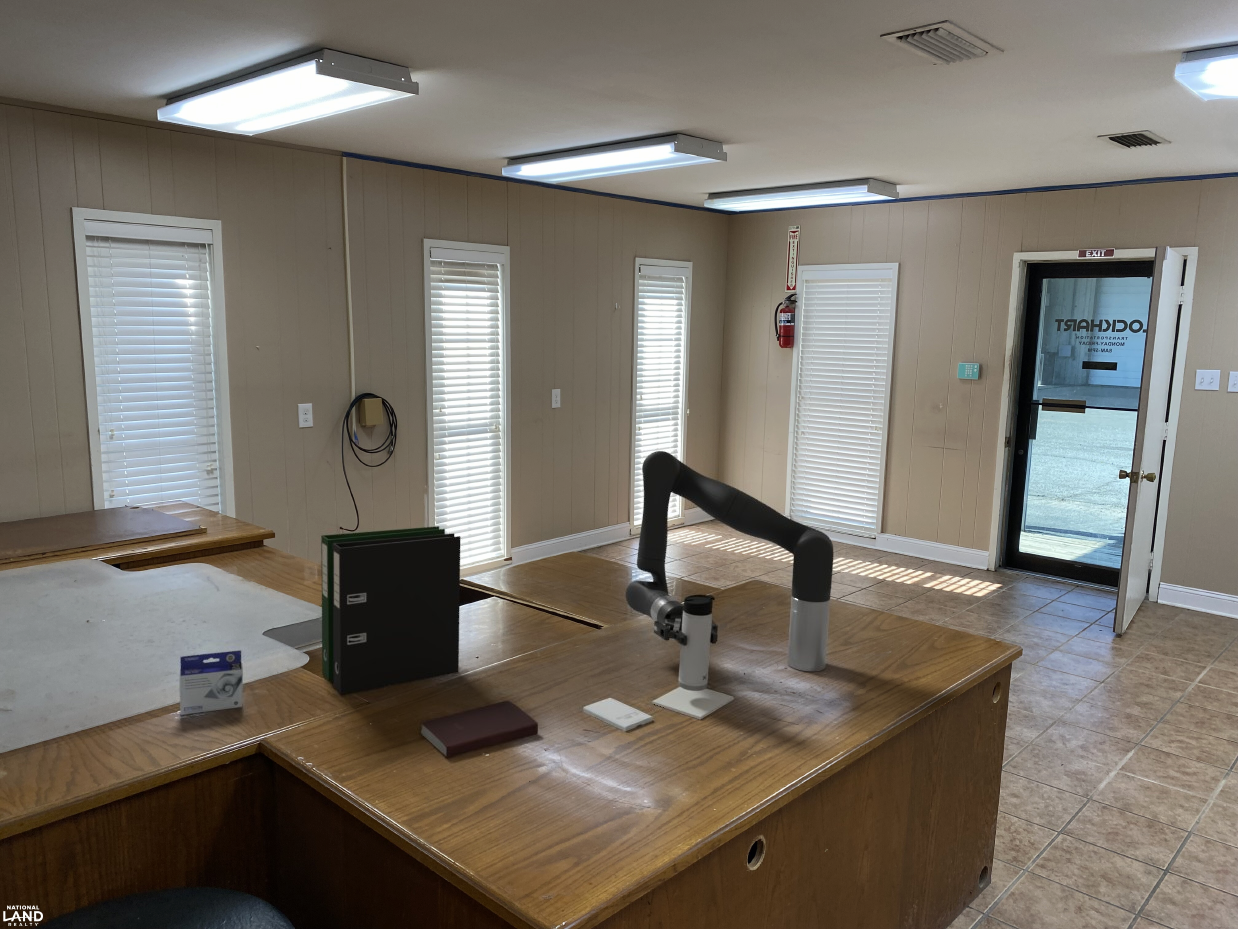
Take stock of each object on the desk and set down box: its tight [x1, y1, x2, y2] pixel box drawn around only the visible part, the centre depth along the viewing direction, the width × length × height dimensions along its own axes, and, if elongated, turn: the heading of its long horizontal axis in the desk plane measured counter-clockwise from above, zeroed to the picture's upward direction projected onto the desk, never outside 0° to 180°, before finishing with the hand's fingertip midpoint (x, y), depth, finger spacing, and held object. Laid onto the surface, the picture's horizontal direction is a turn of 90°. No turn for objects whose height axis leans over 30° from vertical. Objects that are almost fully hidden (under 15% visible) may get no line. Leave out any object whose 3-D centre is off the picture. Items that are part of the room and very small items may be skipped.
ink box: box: [179, 649, 244, 716], centre depth 171 cm, size 12×2×12 cm, turn 117°
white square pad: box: [651, 686, 734, 720], centre depth 185 cm, size 14×12×1 cm
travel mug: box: [678, 594, 716, 691], centre depth 183 cm, size 6×7×20 cm
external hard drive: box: [582, 697, 654, 732], centre depth 176 cm, size 2×8×12 cm
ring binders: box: [320, 525, 462, 697], centre depth 192 cm, size 27×15×32 cm, turn 124°
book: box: [419, 700, 539, 759], centre depth 165 cm, size 12×19×3 cm, turn 126°
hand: (700, 640), depth 181 cm, fingers closed on travel mug, 6 cm apart
